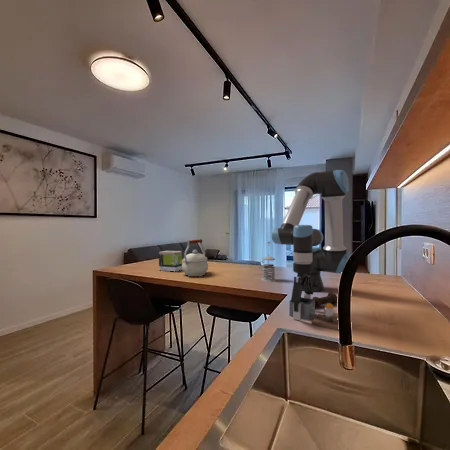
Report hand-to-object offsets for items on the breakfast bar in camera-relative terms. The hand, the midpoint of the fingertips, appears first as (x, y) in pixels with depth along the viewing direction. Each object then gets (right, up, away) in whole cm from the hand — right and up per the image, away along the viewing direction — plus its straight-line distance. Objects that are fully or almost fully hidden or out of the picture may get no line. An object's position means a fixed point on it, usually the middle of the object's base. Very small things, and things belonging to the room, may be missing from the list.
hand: (302, 314), depth 108 cm
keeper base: (+7, 0, -9) cm, 11 cm away
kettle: (-52, +1, +80) cm, 95 cm away
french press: (-4, +1, +63) cm, 63 cm away
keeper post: (+7, +1, -9) cm, 11 cm away
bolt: (+12, -1, +12) cm, 17 cm away
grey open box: (0, 0, 0) cm, 0 cm away
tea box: (-74, +1, +95) cm, 120 cm away
